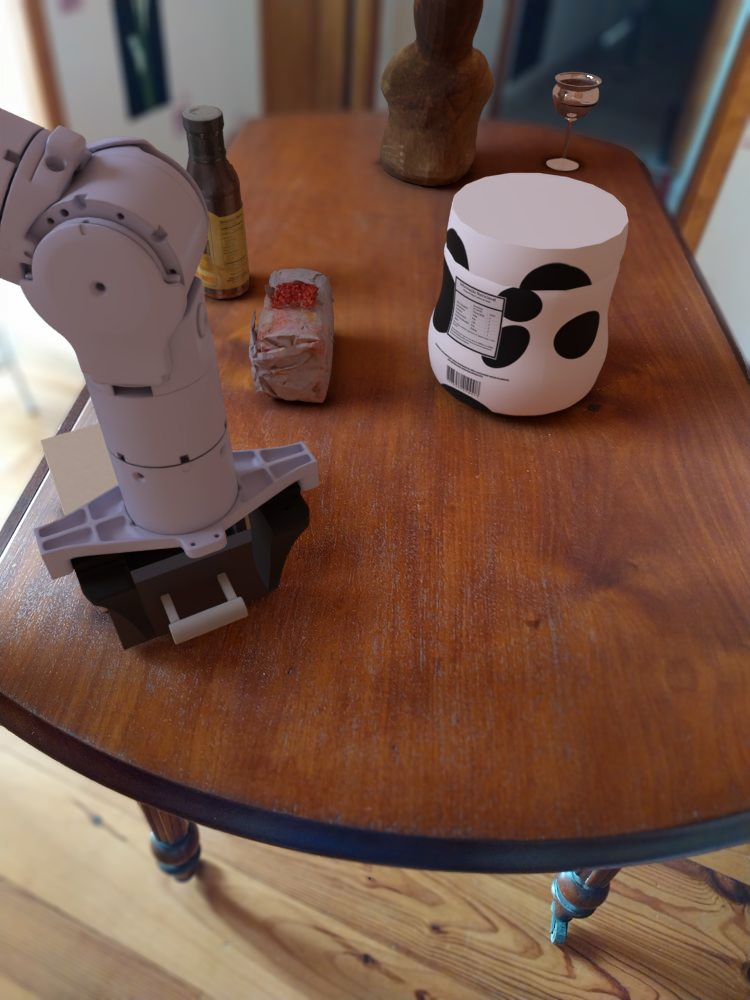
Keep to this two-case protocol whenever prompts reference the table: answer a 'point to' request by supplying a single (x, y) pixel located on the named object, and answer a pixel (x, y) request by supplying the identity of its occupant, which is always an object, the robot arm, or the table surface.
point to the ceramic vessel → (436, 95)
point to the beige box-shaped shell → (81, 467)
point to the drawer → (193, 588)
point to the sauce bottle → (217, 205)
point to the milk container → (526, 292)
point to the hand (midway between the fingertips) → (208, 601)
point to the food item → (294, 337)
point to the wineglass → (573, 106)
